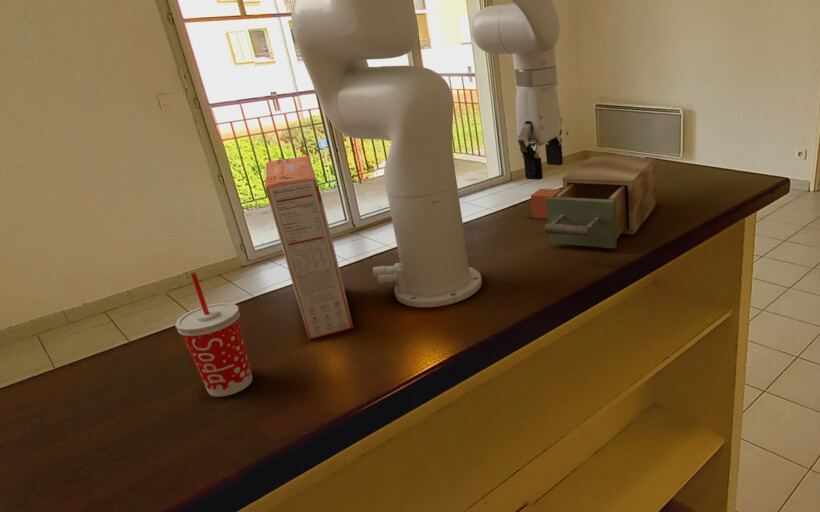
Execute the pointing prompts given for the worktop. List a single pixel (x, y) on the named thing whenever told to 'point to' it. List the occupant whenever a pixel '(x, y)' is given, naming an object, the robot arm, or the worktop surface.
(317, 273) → the cracker box
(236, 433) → the worktop surface
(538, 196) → the block
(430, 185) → the robot arm
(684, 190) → the worktop surface
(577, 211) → the drawer
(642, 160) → the cabinet
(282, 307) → the worktop surface
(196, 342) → the beverage cup
